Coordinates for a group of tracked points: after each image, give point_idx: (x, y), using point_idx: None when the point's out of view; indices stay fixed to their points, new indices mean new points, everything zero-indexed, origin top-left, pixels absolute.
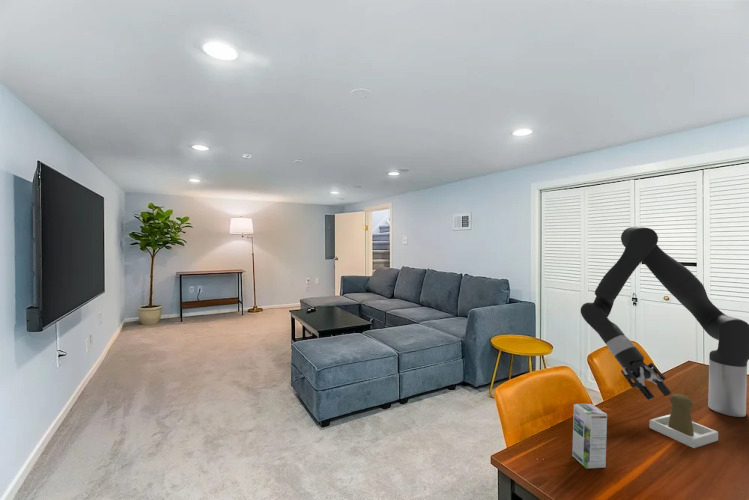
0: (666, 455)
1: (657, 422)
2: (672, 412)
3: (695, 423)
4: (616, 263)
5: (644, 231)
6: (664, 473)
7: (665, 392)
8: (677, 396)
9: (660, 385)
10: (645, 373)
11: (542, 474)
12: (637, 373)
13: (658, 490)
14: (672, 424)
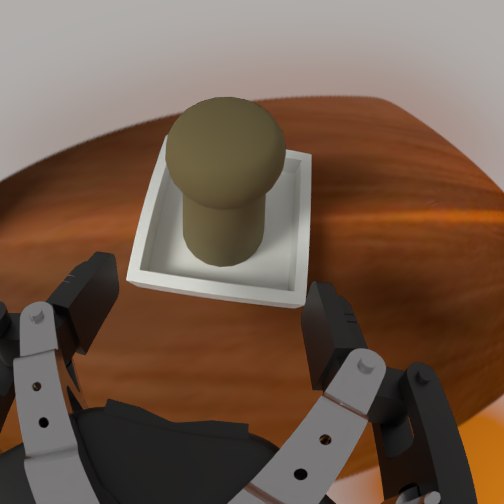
0: (409, 201)
1: (301, 274)
2: (257, 215)
3: (154, 192)
4: None
5: None
6: (458, 184)
7: (110, 284)
8: (261, 135)
9: (83, 319)
10: (162, 466)
11: None
12: (326, 498)
13: (487, 179)
14: (262, 231)
